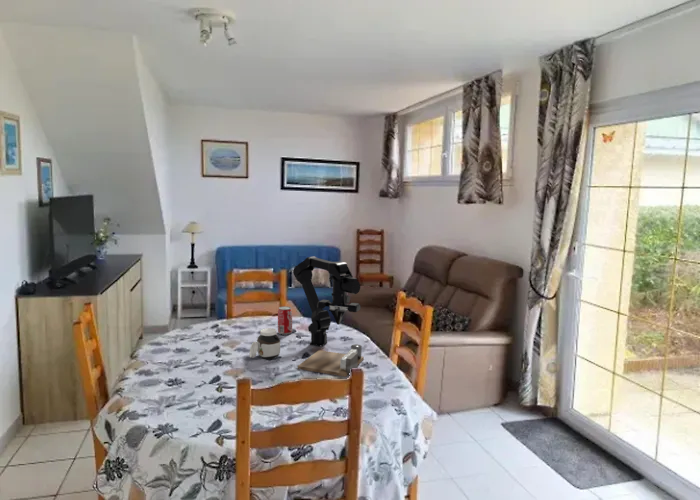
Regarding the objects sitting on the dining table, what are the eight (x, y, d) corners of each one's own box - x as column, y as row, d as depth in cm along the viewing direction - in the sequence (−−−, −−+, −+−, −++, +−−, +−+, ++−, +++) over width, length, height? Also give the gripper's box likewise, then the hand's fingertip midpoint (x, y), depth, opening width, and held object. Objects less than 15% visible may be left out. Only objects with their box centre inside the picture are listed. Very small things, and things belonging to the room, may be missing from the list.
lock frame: (297, 368, 201) (297, 352, 200) (319, 352, 220) (319, 337, 220) (348, 377, 193) (349, 360, 192) (366, 359, 213) (366, 344, 212)
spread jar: (282, 357, 214) (283, 331, 212) (261, 364, 206) (261, 336, 204) (265, 350, 222) (265, 325, 220) (244, 356, 214) (244, 330, 212)
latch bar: (353, 354, 214) (353, 343, 214) (362, 355, 213) (362, 345, 212) (338, 369, 197) (338, 357, 197) (348, 370, 196) (348, 358, 195)
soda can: (289, 335, 244) (289, 310, 242) (275, 334, 245) (275, 309, 244) (294, 331, 251) (294, 306, 249) (280, 330, 252) (280, 305, 251)
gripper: (364, 288, 225) (364, 322, 227) (327, 285, 231) (326, 317, 233) (356, 293, 214) (355, 328, 216) (317, 289, 221) (316, 323, 223)
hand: (338, 324), depth 223 cm, fingers closed
